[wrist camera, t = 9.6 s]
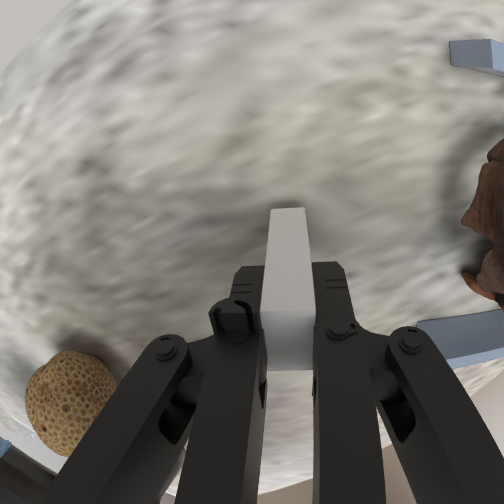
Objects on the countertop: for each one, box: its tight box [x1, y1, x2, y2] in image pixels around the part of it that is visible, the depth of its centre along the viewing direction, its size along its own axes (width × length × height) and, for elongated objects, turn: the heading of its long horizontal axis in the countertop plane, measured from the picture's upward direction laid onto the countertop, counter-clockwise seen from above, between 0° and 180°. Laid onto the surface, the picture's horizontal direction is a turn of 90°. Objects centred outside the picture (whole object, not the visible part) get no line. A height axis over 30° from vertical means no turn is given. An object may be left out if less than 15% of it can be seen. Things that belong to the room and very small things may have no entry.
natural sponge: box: [25, 351, 117, 457], centre depth 21 cm, size 9×9×10 cm
